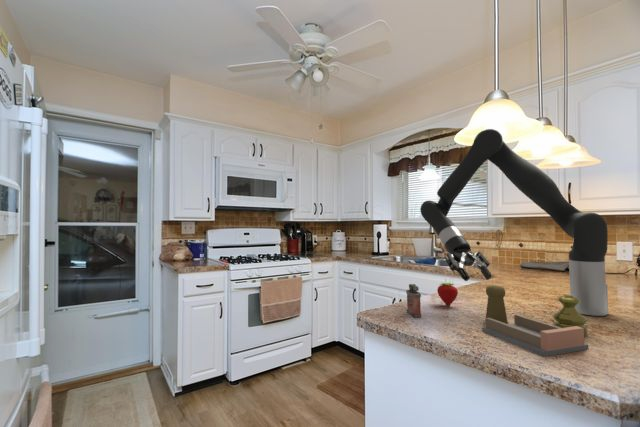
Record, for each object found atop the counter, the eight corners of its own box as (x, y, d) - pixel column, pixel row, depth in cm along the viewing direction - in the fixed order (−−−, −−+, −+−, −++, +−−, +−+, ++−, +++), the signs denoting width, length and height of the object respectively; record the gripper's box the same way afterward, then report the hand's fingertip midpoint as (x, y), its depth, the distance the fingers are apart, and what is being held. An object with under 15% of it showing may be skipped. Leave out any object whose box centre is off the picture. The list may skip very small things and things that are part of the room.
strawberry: (451, 309, 111) (451, 280, 112) (433, 305, 118) (433, 277, 118) (462, 306, 115) (461, 279, 115) (443, 302, 121) (443, 276, 121)
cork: (511, 326, 93) (510, 288, 93) (488, 325, 94) (487, 287, 94) (503, 319, 99) (502, 284, 99) (482, 319, 100) (481, 283, 100)
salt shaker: (582, 329, 89) (580, 293, 89) (591, 338, 82) (590, 299, 83) (550, 326, 92) (549, 291, 92) (557, 334, 85) (555, 297, 86)
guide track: (521, 326, 93) (520, 308, 93) (588, 348, 75) (587, 327, 76) (482, 331, 89) (481, 313, 89) (543, 356, 72) (542, 333, 72)
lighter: (404, 311, 109) (404, 282, 110) (414, 311, 110) (413, 282, 110) (413, 318, 101) (412, 287, 102) (423, 318, 102) (423, 286, 102)
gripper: (441, 235, 110) (466, 272, 99) (475, 234, 114) (502, 270, 103) (432, 249, 115) (454, 287, 104) (465, 248, 119) (490, 284, 108)
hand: (478, 278), depth 103 cm, fingers open, 8 cm apart
